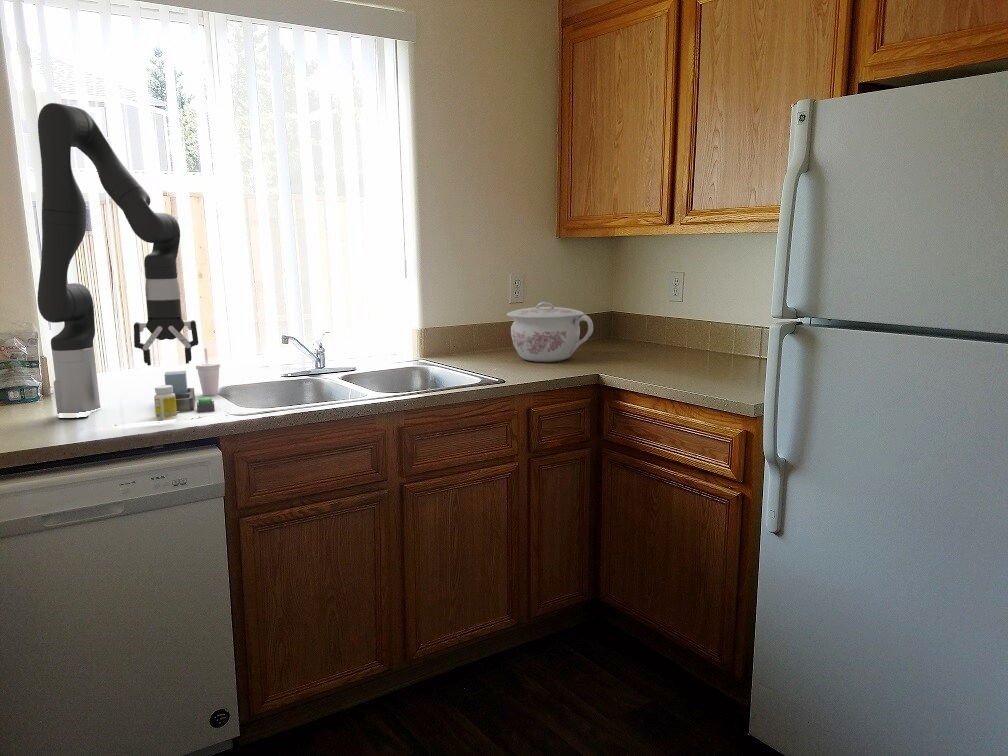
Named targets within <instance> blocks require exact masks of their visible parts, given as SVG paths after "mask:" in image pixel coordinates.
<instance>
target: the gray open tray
mask: <svg viewBox="0 0 1008 756" xmlns="http://www.w3.org/2000/svg"><path fill="white" fill-rule="evenodd" d="M187 388H188V393H179V394H175V397H176V406H177V411H180V412H179V413H182V412H183V413H184V412H194V411H195V407H196V399H195V398H196V396H195V395H196V394H195V387H187Z"/></svg>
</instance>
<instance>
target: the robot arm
mask: <svg viewBox="0 0 1008 756" xmlns="http://www.w3.org/2000/svg"><path fill="white" fill-rule="evenodd" d="M37 134H38V143H39V144H38V145H39V151H40V152H39V154H40V163H41V184H42V185H41V187H42V189H41V190H42V192H41V193H42V195H41V196H42V197H41V198H42V199H41V200H42V201H41V230H42V231H41V236H42V237H41V259H40V261H41V262H40V272H39V279H38V286H37V287H38V288H37V298H36V299H37V308H38V311H39V313H40V316H41V317H42V318H43V319H44V320H45V321H46V322H49V323H52V324H54V323H64V325H63V328H62V330H61V331H59V333H57V334H56V335H54V336H52V338H51V339H50V349H51V354H52V355H51V357H52V362H53V363H52V364H53V365H52V366H53V373H54V381H53V389H54V398H55V405H56V414H59V413H79V412H86V411H91V410H95V409H98V408H101V400H100V391H99V384H98V375H97V364H96V355H95V348H94V339H95V336H96V325H95V323H96V322H95V305H94V300H93V296H92V293H91V291H90V290H89V289H88V287H86V286H85V285H84V284H82V283H75V282H73V283H72V282H71V283H68V272H69V267H70V265H71V261H72V259H73V257H74V256H75V254H76V252H77V250H78V249H79V247H80V246H81V243H82V242H83V239H84V237H85V235H86V230H87V207H86V201H85V198H84V196H83V195H84V194H83V193H82V190H81V189H80V186H79V185H78V183H77V180H76V179H75V175H74V173H73V168H72V157H71V154H72V153H71V151H72V148H77V149H78V150H79V151H81V153H83V154H84V155H85V156H86V157H87V158H88V159H89V160H90V161H91V162H92V164H93V165H94V167H95V169H96V171H97V174H98V178H99V181H100V183H101V185H102V187H103V189H104V191H105V192H106V193H107V195H108V196H109V197H110V199H111V200H112V201H113V202H114V203H115V204H116V205H117V206H118V208H120V210H121V211H122V212H123V214H124V217H125V218H126V220H127V222H128V224H129V226H130V228H131V230H132V232H133V233H134V234H135V235H136V236H137V238H139V239H140V240H142V241H143V242H145V243H148V244H149V243H150V244H152V250H151V253H149V254H147V255H145V256H144V261H143V262H144V264H143V265H144V266H143V267H144V276H145V287H144V289H145V290H144V291H145V301H146V313H147V315H146V316H147V322H146V323H145V322H144V323H143V322H142V323H141V322H138V321H136V322H134V324H133V343H134V344H133V345H134V346H133V347H134V348H136V349H140V350H142V353H143V354H142V355H143V362H144V364H146V365H147V366H149V367H150V366H151V365H152V363H151V362H152V361H151V360H152V359H151V349H150V347H151V345H152V344H153V343H154V341H155V340H156V339H157V340H159V341H163V340H169V341H171V340H175V339H177V340H178V341H179V342H180V343H181V344H182V345H183V346H185V347H184V357H185V358H184V359H185V364H186V365H187V364H189V363H190V362H191V361H192V347H195V346H198V345H199V337H198V330H197V329H198V328H197V322H196V320H194V319H193V320H192V319H191V320H189V321H184V320H183V317H182V304H181V303H182V301H181V292H180V285H179V279H178V268H177V257H178V254H179V253H178V252H179V248H180V240H181V228H180V225H179V222H178V221H177V219H176V218H175V217H174V216H173V215H172V214H169V213H166V212H155V211H153V210H152V208H151V207H150V205H151V197H150V195H149V194H148V192H147V191H146V190H145V189H144V188H143V186H142V185H141V183H139V182H138V181H137V180H136V178H135V177H134V176H133V175H132V174H131V173H130V171H129V170H128V169H127V168H126V166H125V165H124V164H123V163H122V162H121V160H120V158H118V155H117V154H116V152H115V151H114V150H113V148H112V147H111V145H110V142H108V140H107V139H106V137H105V135H104V134H103V132H102V130H101V129H100V127H99V126H98V124H97V122H96V121H95V120H94V118H93V117H92V116H91V115H90V114H89V112H87V111H86V110H85V109H83V108H81V107H77V106H72V105H68V104H62V103H56V102H50V103H47V104H45V105H44V106H43V107H42V108H41V110H40V112H39V114H38V118H37ZM184 327H186V328H187V330H189V331H191V337H192V340H191V341H189V340H188V339H187V338H186V336H185V335H183V333H181V332H182V330H183V329H184ZM145 328H146V329H147V330H148V331H149V333H151V335H150V336H149V337H148V339H147V340H145V341H146V342H145V343H143V342H141V333H142V332H143V331H144V330H145Z"/></svg>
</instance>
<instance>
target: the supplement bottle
mask: <svg viewBox="0 0 1008 756" xmlns="http://www.w3.org/2000/svg"><path fill="white" fill-rule="evenodd" d="M154 392H155V395H154V398H153V399H154V408H155V416H156V418H159V417H160V418H161V419H164V417H165V418H172V416H173V417H176V416H177V415H178V412H177V406H176V397H175V394H174V393H172V392H173V386H172V385H157V386H154Z"/></svg>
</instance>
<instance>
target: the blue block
mask: <svg viewBox="0 0 1008 756" xmlns="http://www.w3.org/2000/svg"><path fill="white" fill-rule="evenodd" d="M164 384H165V385H172V386H173V392H172V393H174V394H179V393H188V388H189V387H188V378H187V370H177V371H166V372H164Z"/></svg>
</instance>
